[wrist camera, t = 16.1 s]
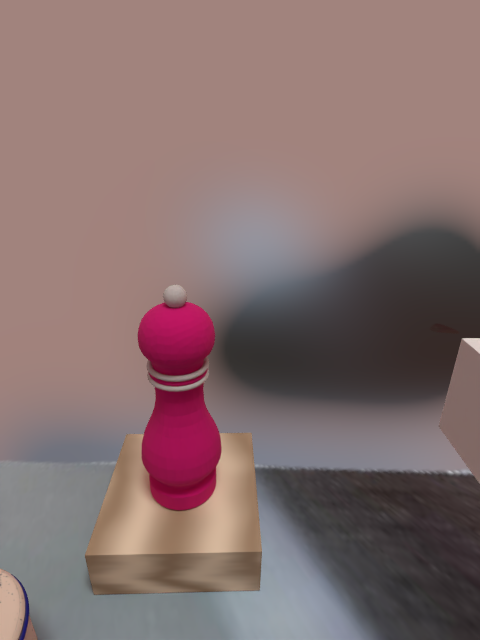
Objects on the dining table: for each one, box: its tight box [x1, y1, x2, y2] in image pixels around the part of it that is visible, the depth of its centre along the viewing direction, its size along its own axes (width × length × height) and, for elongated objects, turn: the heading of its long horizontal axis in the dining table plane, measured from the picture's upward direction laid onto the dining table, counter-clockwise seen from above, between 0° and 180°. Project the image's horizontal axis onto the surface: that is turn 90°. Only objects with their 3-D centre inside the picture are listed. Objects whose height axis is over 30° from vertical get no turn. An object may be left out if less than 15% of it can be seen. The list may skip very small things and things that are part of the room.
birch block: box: [85, 433, 262, 595], centre depth 38 cm, size 14×14×5 cm
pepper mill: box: [138, 285, 222, 510], centre depth 33 cm, size 7×7×20 cm
